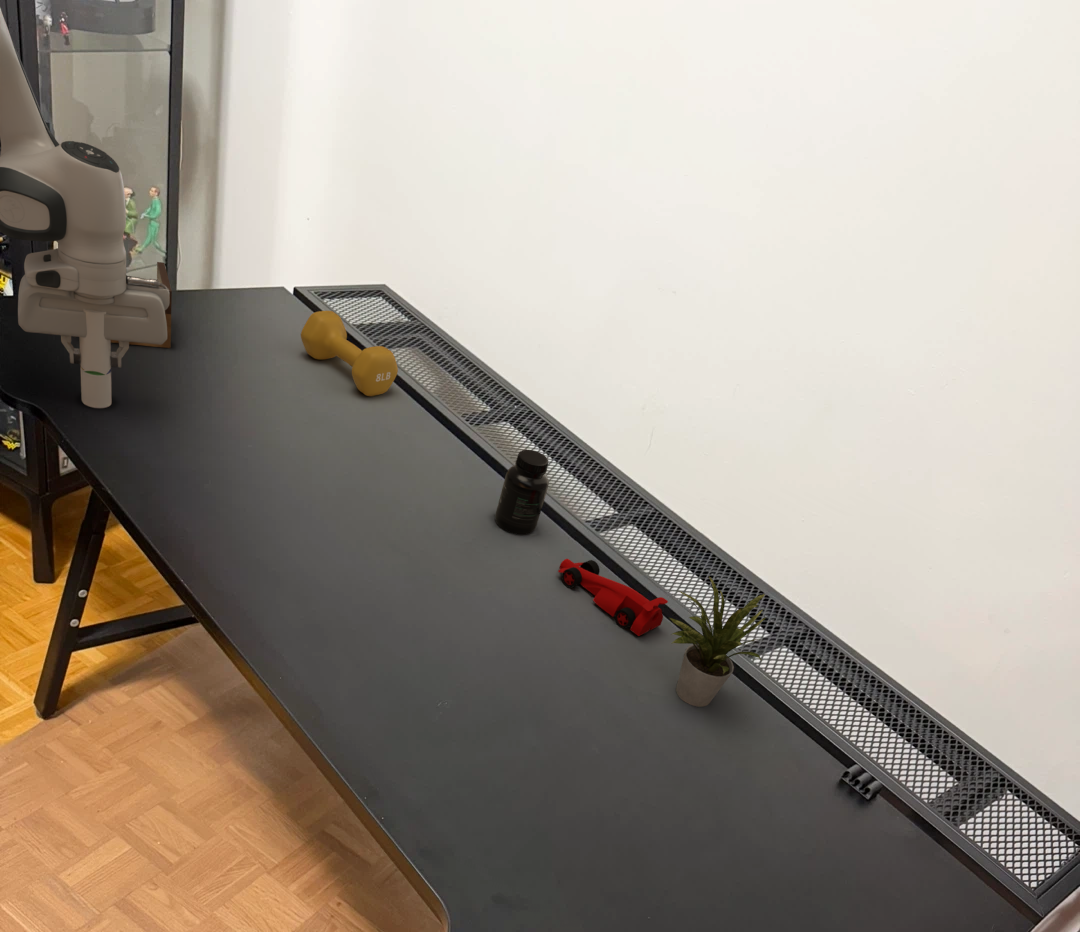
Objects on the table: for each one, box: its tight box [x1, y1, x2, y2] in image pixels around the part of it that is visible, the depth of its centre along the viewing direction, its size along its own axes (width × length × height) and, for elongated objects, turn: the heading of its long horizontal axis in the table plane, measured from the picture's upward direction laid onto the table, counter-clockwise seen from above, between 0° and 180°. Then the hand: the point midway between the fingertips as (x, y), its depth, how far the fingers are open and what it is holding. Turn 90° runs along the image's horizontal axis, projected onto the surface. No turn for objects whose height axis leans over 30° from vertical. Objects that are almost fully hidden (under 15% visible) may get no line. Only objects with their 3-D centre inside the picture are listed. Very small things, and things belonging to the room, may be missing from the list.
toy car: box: [557, 558, 669, 637], centre depth 152 cm, size 6×18×5 cm, turn 47°
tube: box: [78, 309, 113, 409], centre depth 153 cm, size 4×4×15 cm
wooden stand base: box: [111, 261, 173, 349], centre depth 174 cm, size 14×12×10 cm
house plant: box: [669, 576, 767, 708], centre depth 137 cm, size 14×14×16 cm
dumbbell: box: [300, 310, 399, 397], centre depth 184 cm, size 19×9×8 cm, turn 47°
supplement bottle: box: [494, 449, 550, 536], centre depth 159 cm, size 7×7×12 cm
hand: (95, 363), depth 154 cm, fingers closed on tube, 4 cm apart
